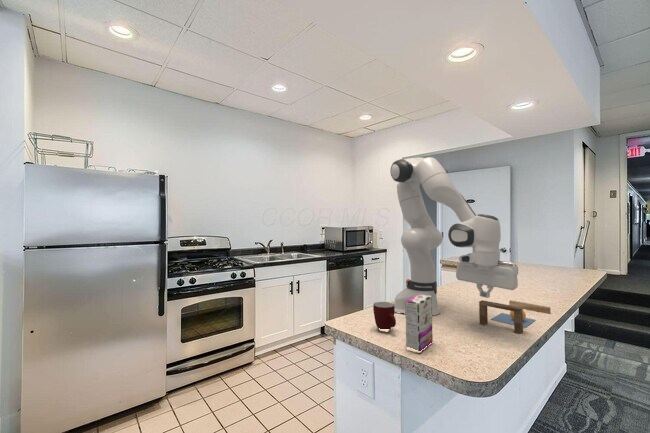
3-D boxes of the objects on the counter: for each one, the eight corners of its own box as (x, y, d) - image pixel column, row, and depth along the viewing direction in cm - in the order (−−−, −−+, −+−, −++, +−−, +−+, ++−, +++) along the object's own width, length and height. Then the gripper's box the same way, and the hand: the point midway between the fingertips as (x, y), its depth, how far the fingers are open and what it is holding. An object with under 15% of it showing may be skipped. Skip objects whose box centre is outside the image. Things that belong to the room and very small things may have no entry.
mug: (404, 333, 113) (403, 306, 113) (388, 338, 108) (388, 310, 108) (384, 325, 121) (383, 300, 122) (369, 329, 117) (368, 303, 117)
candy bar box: (419, 339, 107) (418, 293, 107) (433, 343, 103) (432, 295, 103) (405, 350, 98) (404, 300, 98) (419, 354, 95) (419, 302, 95)
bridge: (520, 334, 110) (519, 309, 111) (479, 324, 121) (479, 301, 122) (523, 332, 112) (522, 307, 113) (482, 322, 123) (482, 300, 124)
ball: (519, 318, 128) (514, 325, 125) (510, 307, 129) (505, 314, 126) (530, 314, 124) (526, 321, 120) (520, 303, 125) (516, 310, 122)
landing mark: (525, 327, 117) (525, 327, 117) (490, 319, 127) (490, 319, 127) (535, 320, 125) (535, 319, 125) (501, 313, 135) (501, 312, 135)
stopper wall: (549, 313, 134) (549, 308, 134) (509, 306, 146) (509, 301, 146) (550, 312, 135) (550, 307, 135) (510, 305, 147) (510, 300, 147)
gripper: (521, 262, 103) (520, 302, 104) (462, 254, 119) (461, 289, 119) (515, 264, 99) (513, 305, 99) (454, 256, 115) (453, 292, 115)
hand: (484, 296), depth 109 cm, fingers closed
